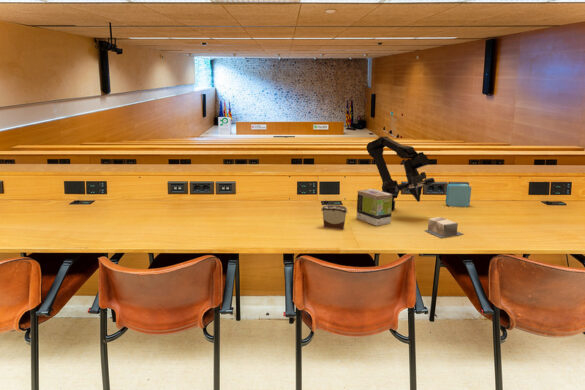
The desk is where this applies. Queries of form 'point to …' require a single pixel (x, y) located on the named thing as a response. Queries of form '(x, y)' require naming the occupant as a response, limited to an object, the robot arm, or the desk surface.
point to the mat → (442, 235)
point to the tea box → (374, 206)
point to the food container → (334, 216)
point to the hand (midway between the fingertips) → (418, 201)
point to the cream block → (442, 226)
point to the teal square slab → (458, 195)
